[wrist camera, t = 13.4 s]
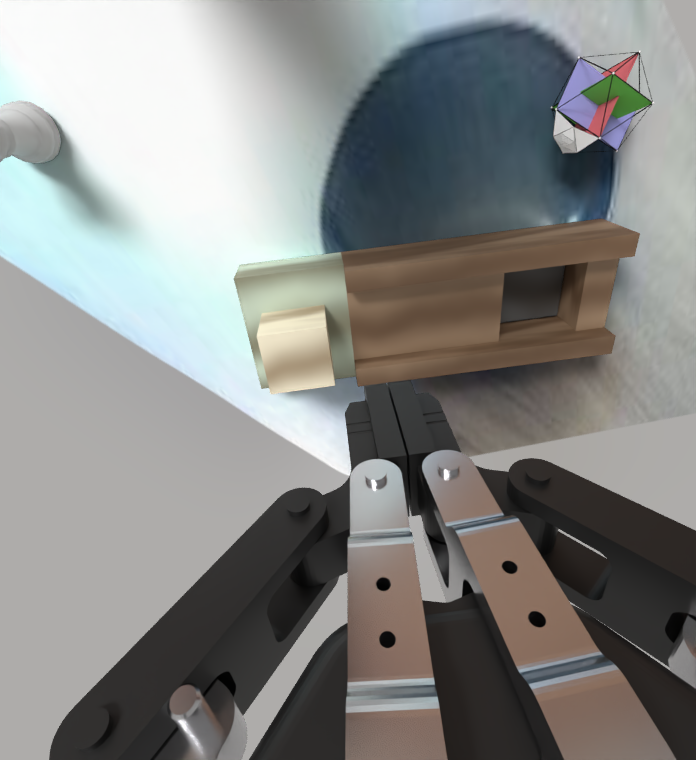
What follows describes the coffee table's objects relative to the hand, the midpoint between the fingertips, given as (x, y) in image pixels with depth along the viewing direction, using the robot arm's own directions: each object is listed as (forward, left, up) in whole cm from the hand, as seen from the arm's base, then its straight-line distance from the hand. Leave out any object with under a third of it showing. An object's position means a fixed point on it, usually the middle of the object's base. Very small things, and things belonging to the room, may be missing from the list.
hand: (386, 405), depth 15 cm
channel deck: (+10, +8, -32) cm, 34 cm away
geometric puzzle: (-6, +22, -32) cm, 40 cm away
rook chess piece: (-9, -24, -32) cm, 41 cm away
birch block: (+11, -5, -28) cm, 30 cm away
